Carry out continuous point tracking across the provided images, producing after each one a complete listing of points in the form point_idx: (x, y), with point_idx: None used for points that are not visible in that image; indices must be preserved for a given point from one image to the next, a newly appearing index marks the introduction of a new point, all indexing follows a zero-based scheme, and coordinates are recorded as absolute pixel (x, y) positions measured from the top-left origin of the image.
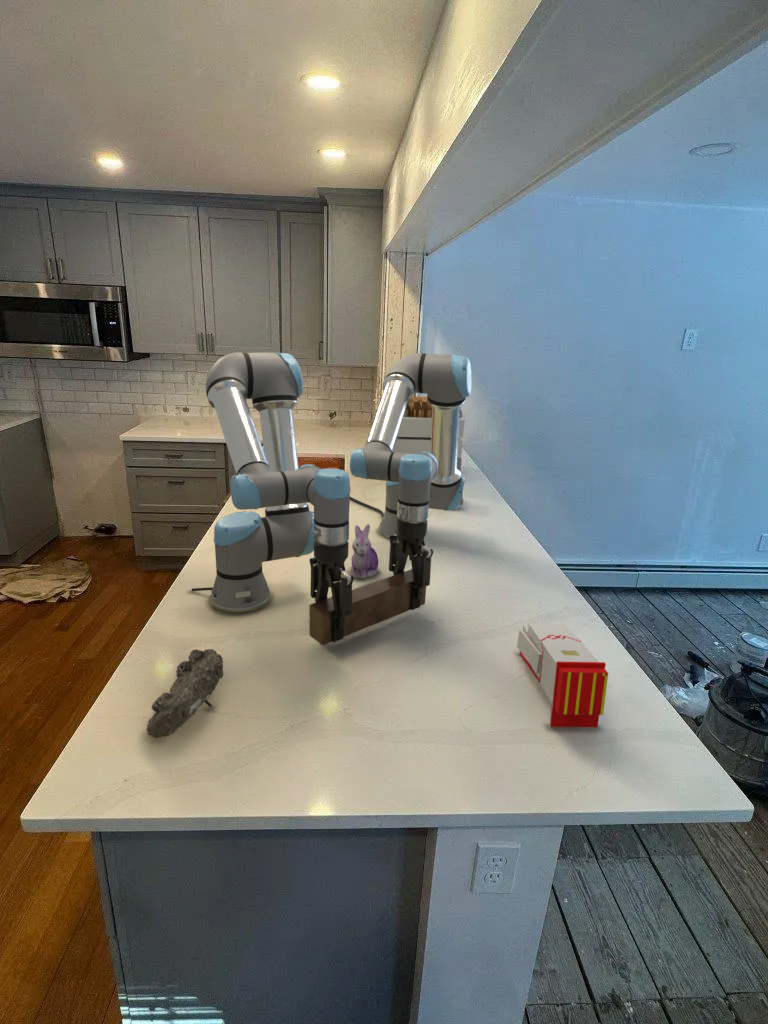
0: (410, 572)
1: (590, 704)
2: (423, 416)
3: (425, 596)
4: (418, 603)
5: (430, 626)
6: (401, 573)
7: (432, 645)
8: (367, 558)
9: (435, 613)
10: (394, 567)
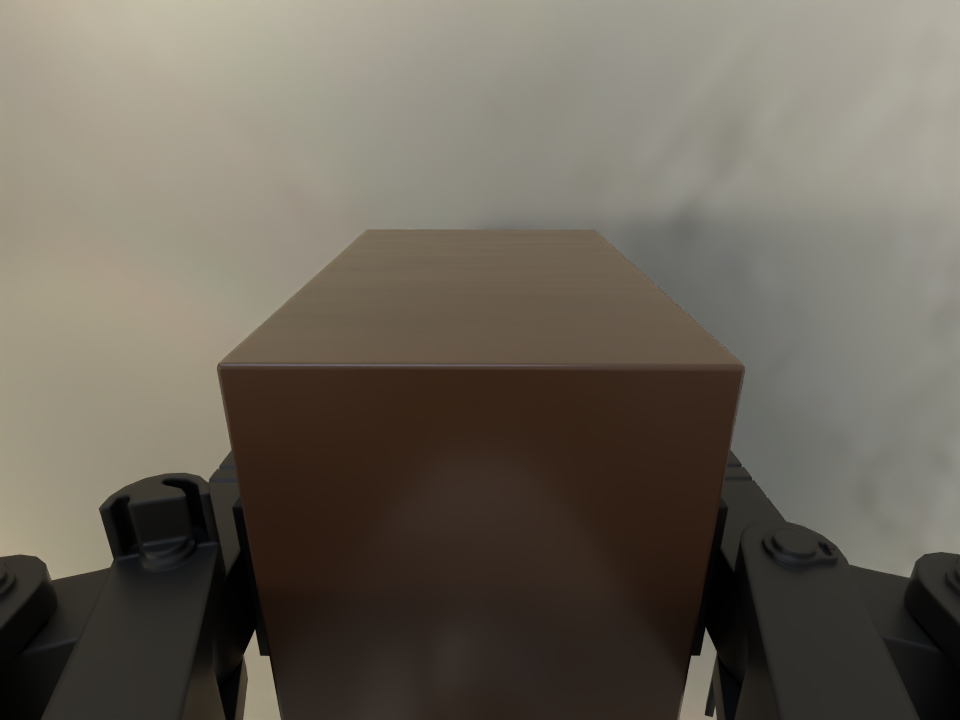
0: (362, 540)
1: None
2: None
3: (615, 250)
4: None
5: (723, 289)
6: (299, 682)
7: (885, 454)
8: None
9: (612, 78)
10: (33, 710)
